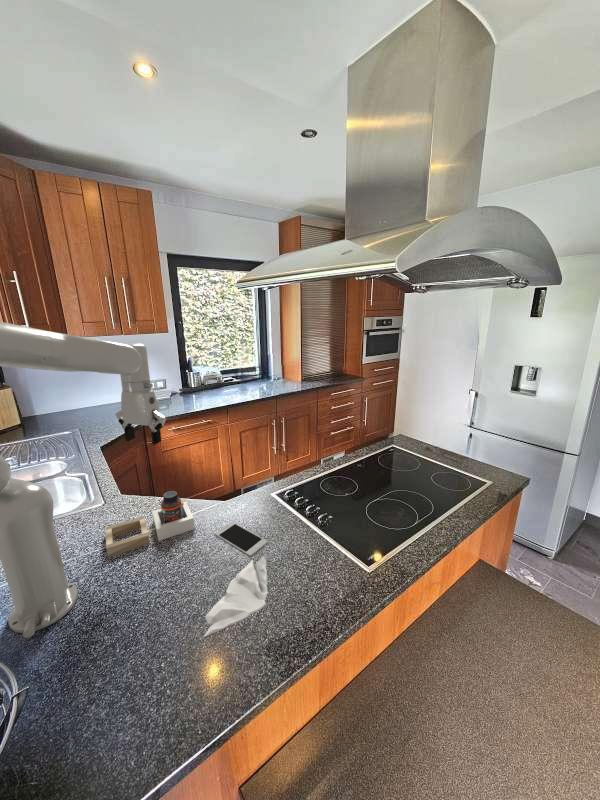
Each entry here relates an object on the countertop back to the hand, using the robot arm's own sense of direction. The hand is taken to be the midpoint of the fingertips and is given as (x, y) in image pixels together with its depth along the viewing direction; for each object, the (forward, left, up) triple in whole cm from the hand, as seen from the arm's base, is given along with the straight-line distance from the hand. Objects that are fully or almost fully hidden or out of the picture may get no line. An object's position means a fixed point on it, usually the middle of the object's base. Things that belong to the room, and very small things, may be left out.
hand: (143, 441), depth 99 cm
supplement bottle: (-6, -5, -28) cm, 29 cm away
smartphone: (-23, -21, -28) cm, 42 cm away
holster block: (-6, +8, -28) cm, 29 cm away
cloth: (-42, -14, -29) cm, 53 cm away
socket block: (-6, -5, -28) cm, 29 cm away
